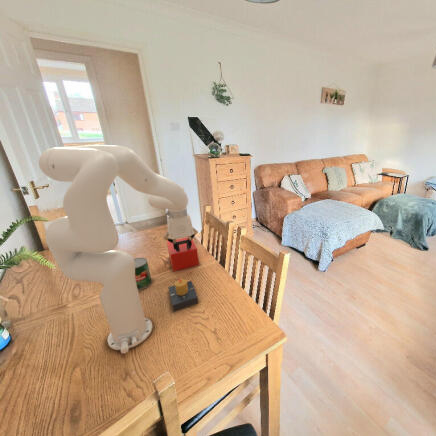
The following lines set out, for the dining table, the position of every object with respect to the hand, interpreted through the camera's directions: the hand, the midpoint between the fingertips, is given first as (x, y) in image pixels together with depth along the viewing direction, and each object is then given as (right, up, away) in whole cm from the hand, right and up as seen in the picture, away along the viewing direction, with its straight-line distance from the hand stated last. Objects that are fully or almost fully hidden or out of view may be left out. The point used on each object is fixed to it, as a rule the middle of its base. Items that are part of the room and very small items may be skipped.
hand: (183, 248), depth 113 cm
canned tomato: (-14, -15, -9) cm, 22 cm away
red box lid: (-3, 0, +5) cm, 5 cm away
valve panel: (+7, -18, -16) cm, 25 cm away
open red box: (-3, -8, +8) cm, 12 cm away
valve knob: (+7, -15, -17) cm, 24 cm away
